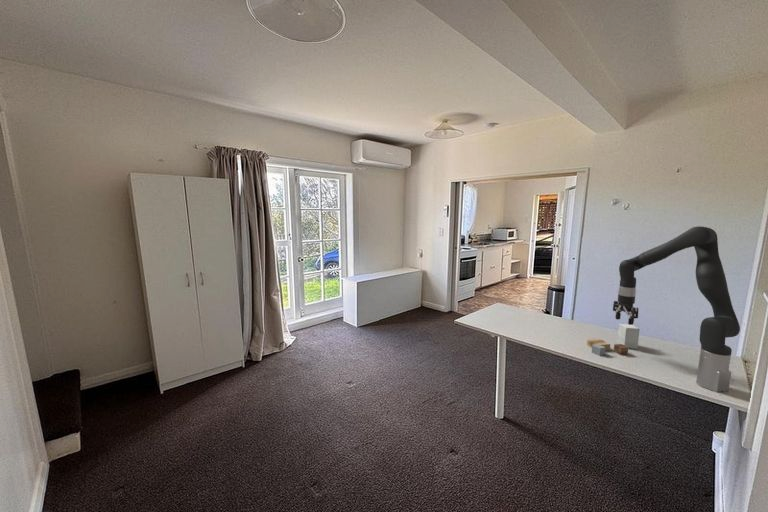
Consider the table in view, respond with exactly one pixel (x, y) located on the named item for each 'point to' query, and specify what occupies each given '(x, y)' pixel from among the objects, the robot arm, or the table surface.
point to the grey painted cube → (598, 349)
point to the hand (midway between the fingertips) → (624, 321)
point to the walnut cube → (621, 349)
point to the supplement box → (628, 335)
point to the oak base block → (598, 341)
